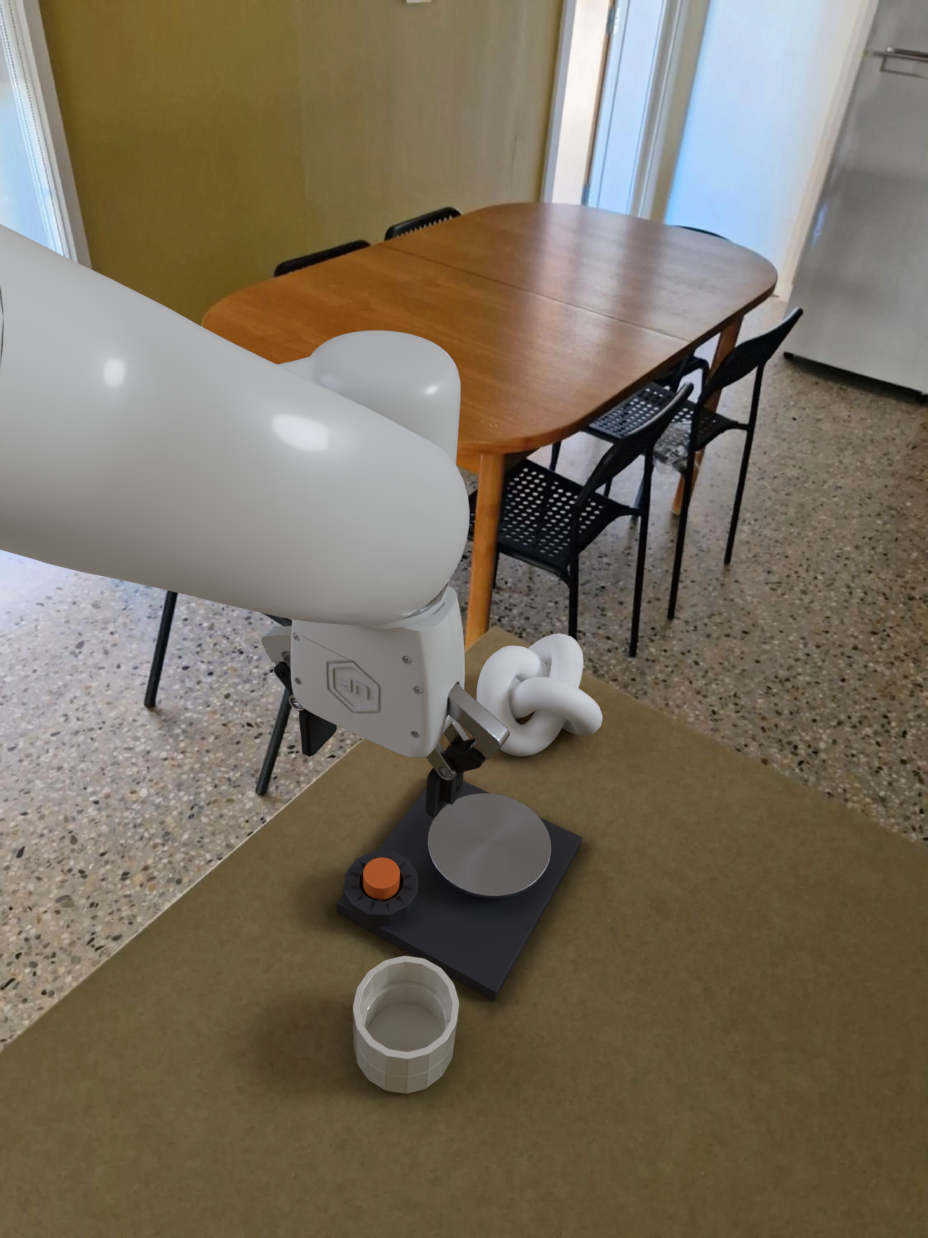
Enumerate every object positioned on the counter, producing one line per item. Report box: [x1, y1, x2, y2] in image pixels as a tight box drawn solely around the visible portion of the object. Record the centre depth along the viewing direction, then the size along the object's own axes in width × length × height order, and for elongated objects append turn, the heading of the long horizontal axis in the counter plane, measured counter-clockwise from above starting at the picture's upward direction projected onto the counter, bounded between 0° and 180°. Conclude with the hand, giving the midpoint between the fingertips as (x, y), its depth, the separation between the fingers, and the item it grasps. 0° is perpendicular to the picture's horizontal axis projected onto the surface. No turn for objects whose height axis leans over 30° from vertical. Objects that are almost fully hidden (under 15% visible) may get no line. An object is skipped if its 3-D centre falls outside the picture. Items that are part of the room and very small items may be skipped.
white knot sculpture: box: [476, 632, 603, 758], centre depth 84 cm, size 11×12×9 cm
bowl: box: [352, 955, 460, 1095], centre depth 60 cm, size 7×7×6 cm
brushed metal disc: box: [428, 792, 551, 898], centre depth 72 cm, size 10×10×1 cm
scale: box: [336, 780, 584, 1002], centre depth 72 cm, size 16×14×3 cm
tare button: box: [363, 858, 400, 900], centre depth 68 cm, size 3×3×2 cm
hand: (379, 771), depth 60 cm, fingers open, 9 cm apart
